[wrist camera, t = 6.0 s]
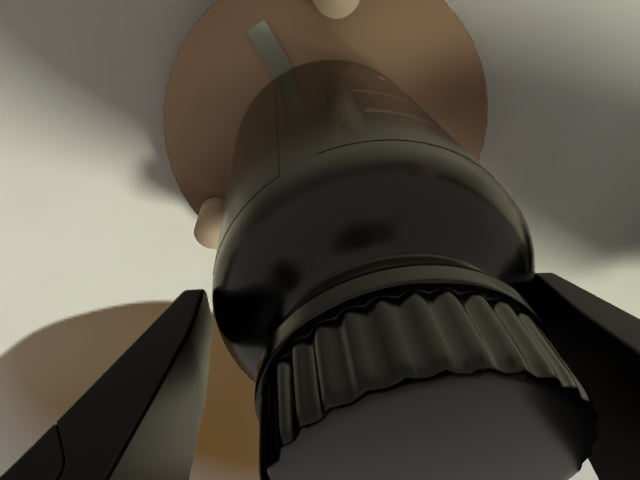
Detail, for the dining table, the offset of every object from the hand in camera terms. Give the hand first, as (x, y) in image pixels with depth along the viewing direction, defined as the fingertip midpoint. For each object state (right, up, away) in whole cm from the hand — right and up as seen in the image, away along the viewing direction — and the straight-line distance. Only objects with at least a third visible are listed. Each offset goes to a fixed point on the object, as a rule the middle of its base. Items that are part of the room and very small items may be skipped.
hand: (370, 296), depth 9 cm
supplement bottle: (-1, +5, +7) cm, 8 cm away
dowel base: (-1, +5, +8) cm, 9 cm away
